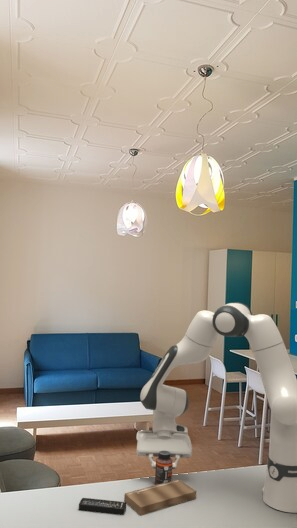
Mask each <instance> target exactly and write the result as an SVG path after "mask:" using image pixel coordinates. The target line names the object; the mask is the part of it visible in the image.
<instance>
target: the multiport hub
mask: <svg viewBox="0 0 297 528" xmlns="http://www.w3.org/2000/svg"><path fill="white" fill-rule="evenodd" d="M78 511H82V512H90V513H100V514H107V515H117V516H125V513H126V511H127V503H126V502H125V501H119V500H118V501H117V500H109V499H98V498H90V497H82V498H81V499H80V501H79V503H78Z"/></svg>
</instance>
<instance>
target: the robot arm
mask: <svg viewBox="0 0 297 528" xmlns="http://www.w3.org/2000/svg"><path fill="white" fill-rule="evenodd" d="M219 336H223V337H230V338H233V337H234V338H242V337H245V338H246V339H247V341H248V344H249V345H250V349H251V352H252V354H253V358H254V360H255V363H256V367H257V369H258V372H259V375H260V378H261V381H262V385H263V388H264V392H265V395H266V398H267V401H268V405H269V408H270V424H269V425H270V426H269V441H268V442H269V449H268V456H267V460H266V463H267V465H266V466H267V469H266V471H265V478H264V486H263V487H262V489H261V492H262V500H263V502H264V503H265V505H267V506H268V507H271V508H272V509H274V510H278V511H281V512H285V513H292V514H293V513H294V514H297V376H296V373H295V369H294V367H293V364H292V361H291V359H290V355H289V353H288V350H287V348H286V344H285V341H284V340H283V337H282V335H281V332H280V331H279V329H278V326H277V325H276V323H275V322H274V320H273V318H272V317H271V316H270V315H268V314H263V313H261V314H260V313H259V314H255V315H253V312H252V310H251V308H250V307H249V306H248V305H247V304H245V303H242V302H239V301H237V302H229V303H226V304H224V305H222V306H220V307H219V308H217V309H216V310H215V312H213V311H211V310H205V309H203V310H200V311H198V312H197V313H196V314H195V315H194V317H193V318H192V320H191V322H190V324H189V326H188V328H187V330H186V331H185V334H184V335H183V337H182V339H181V340H180V341H179V342H178V343H177V344H175V345H171V346H170V347H169V349H168V350H167V351H166V352H165V353H164V356H163V357H162V359H161V360H160V362H159V363H158V365H157V367H156V368H155V370H154V372H153V373H152V375H151V376H150V378H149V379H148V380H147V381H146V382H145V383H144V385H143V387H142V389H141V391H140V394H139V399H140V400H139V401H140V403H141V404H142V406H143V407H144V408H145V409H146V410H150V411H152V414H153V420H152V429H147V430H144V429H141V430H139V431H137V433H136V437H135V438H136V441H137V443H136V455H137V456H138V457H148V460H149V463H150V464H151V469H155V470H156V461H154V460H153V459H154V457H156V458H158V457H159V452H160V451H169V452H170V458H175V459H174V460H175V461H174V462H173V463H172V470H177V468H178V467H177V465H178V463H179V462H180V458H182V459H183V458H184V459H189V458H191V457H192V455H193V446H192V442H191V437H190V436H189V434H188V432H189V431H188V429H189V428H188V427H187V426H183V425H181V424H178V423H176V418H179V417H181V416H182V415H184V414H185V413H186V412H187V411H188V410H189V407H190V397H189V394H188V393H187V391H186V390H185V389H182V388H180V387H175V386H171V385H166V384H164V383H165V381H166V380H167V378H168V376H169V375H170V373H171V371H172V370H173V369H174V368H176V367H180V366H182V365H183V366H184V365H193V364H199V363H201V362H204V361H206V359H208V357H209V356H210V354H211V353H212V350H213V349H214V346H215V344H216V341H217V339H218V337H219Z"/></svg>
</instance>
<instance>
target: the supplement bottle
mask: <svg viewBox="0 0 297 528" xmlns="http://www.w3.org/2000/svg"><path fill="white" fill-rule="evenodd" d="M155 462H156V469H155V474H154V477H155V478H154V483H155V485H158V484H162V483H166V482H169V481H173V479H172V478H173V469H172V463H174V462H173V458H172V457H170V452H169V451H160V452H159V457H156V460H155Z"/></svg>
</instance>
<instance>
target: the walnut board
mask: <svg viewBox="0 0 297 528" xmlns="http://www.w3.org/2000/svg"><path fill="white" fill-rule="evenodd" d="M123 496H124V498H123V499H124V500H123V502H126V505H128V506H129V507H130V508H131V509H133V510H134V512H135V513H136V514H138V515H139V516H143V515H147V514H150V513H154V512H157V511H160V510H163V509H167V508H170V507H173V506H176V505H177V506H178V505H179V504H183V503H186V502H190V501H192V500H196V499H197V490H196V489H194V488H193V487H191V486H190V485H188V484H187V483H185V482H183V481H182V480H180V479H177V478H176V479H172V481H169V482H166V483H162V484H158V485H156V484H155V485H151V486H147V487H144V488H140V489H139V488H138V489H134V490H132V491H127V492H124V495H123Z"/></svg>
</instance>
